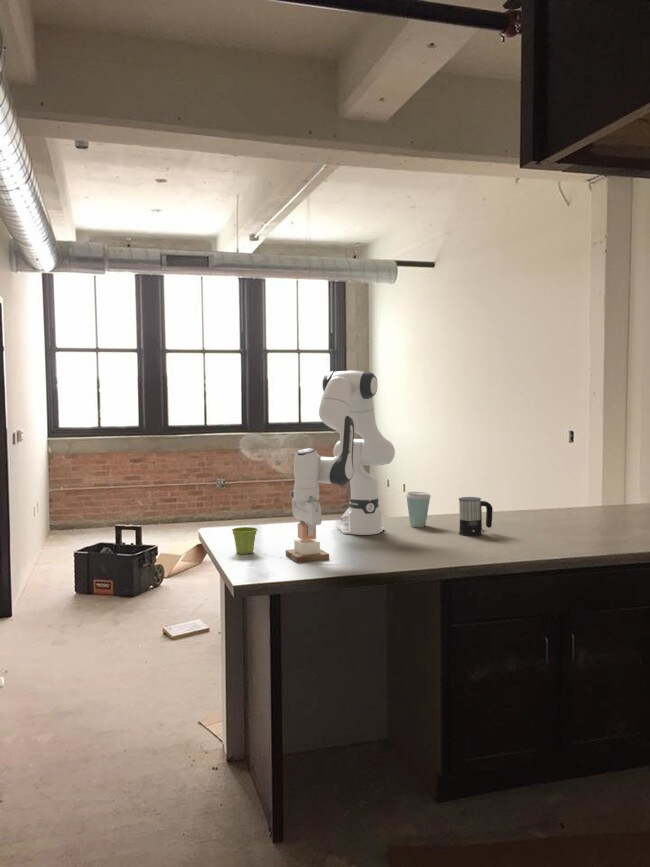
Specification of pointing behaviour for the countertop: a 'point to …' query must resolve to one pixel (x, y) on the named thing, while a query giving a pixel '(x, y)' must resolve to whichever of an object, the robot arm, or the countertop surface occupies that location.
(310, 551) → the cream block
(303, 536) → the terracotta cube
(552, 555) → the countertop surface
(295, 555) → the walnut base
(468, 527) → the milk frother
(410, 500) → the disposable coffee cup
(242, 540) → the plant pot
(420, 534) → the countertop surface
